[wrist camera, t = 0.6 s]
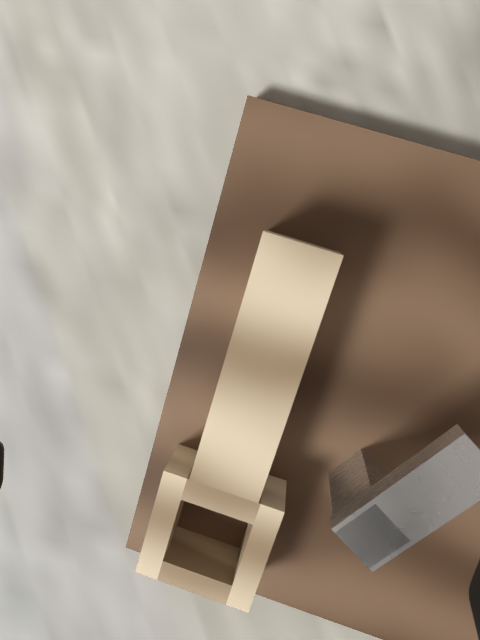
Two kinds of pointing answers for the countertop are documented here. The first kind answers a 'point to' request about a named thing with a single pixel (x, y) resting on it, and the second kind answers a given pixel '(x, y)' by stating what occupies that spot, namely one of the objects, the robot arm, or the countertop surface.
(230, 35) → the countertop surface
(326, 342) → the base board
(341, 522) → the keeper
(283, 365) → the link
